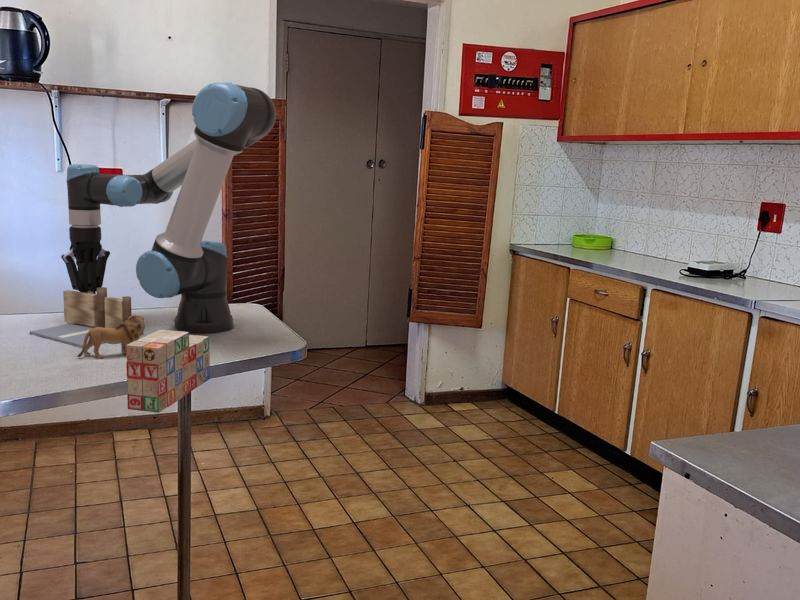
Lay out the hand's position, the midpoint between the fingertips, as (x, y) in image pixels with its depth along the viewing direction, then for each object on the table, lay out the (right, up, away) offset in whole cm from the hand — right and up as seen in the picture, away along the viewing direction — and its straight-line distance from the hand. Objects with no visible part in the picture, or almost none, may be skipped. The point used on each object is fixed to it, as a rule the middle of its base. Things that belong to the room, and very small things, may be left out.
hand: (88, 315), depth 194 cm
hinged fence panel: (0, -2, -4) cm, 5 cm away
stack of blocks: (+37, -14, -51) cm, 65 cm away
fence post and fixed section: (+10, -4, -9) cm, 14 cm away
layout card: (+4, -4, -10) cm, 12 cm away
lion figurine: (+17, -9, -27) cm, 33 cm away
